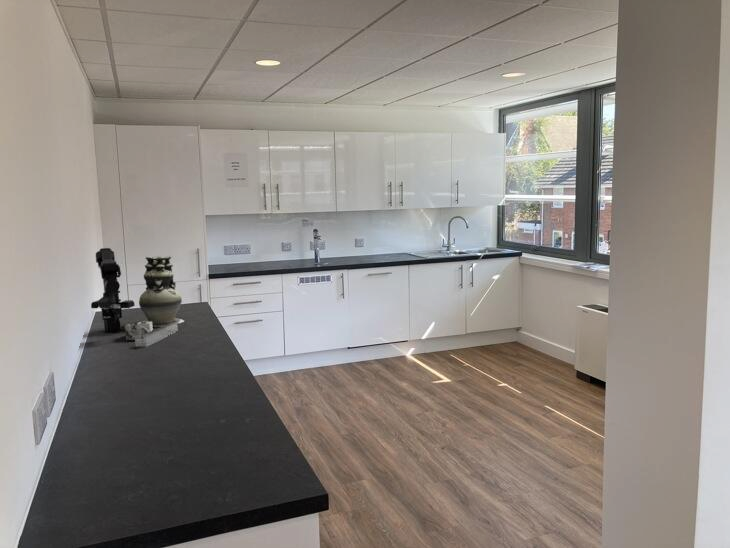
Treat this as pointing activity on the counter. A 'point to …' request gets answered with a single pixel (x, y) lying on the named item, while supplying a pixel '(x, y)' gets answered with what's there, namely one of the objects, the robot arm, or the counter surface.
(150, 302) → the decorative urn
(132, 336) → the rock
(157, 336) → the bracket
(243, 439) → the counter surface
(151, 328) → the module
